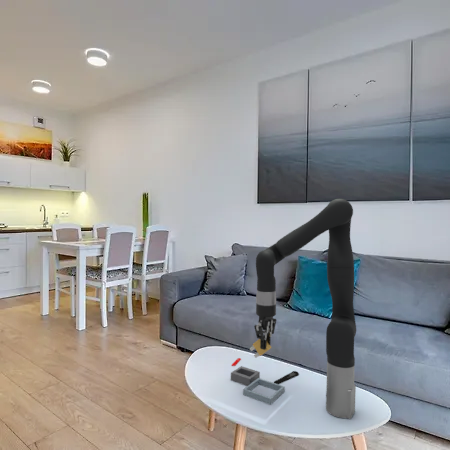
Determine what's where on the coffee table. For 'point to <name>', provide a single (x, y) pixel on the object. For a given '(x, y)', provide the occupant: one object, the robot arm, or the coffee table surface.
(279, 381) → the electric trimmer
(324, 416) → the coffee table surface
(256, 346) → the block
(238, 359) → the swiss army knife
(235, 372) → the block
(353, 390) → the robot arm
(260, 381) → the tray
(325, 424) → the coffee table surface
